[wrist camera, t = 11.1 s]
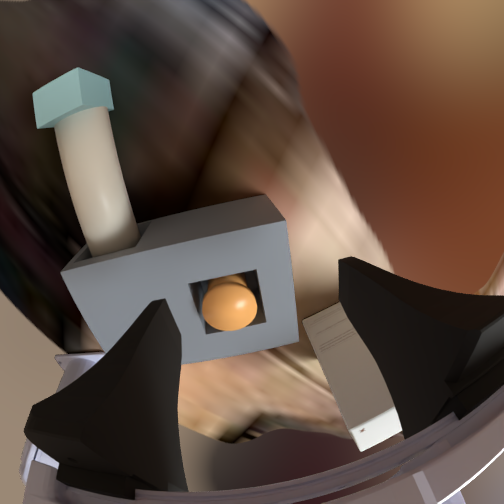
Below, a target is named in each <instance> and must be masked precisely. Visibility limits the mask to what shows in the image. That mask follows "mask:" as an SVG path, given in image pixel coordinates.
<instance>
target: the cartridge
mask: <svg viewBox="0 0 504 504" xmlns="http://www.w3.org/2000/svg"><path fill="white" fill-rule="evenodd" d="M33 102H34V111H35V118H36V125H37V129H39V128H51V127H54V128H55V134H56V139H57V144H58V149H59V153H60V157H61V162H62V166H63V170H64V174H65V177H66V181H67V185H68V188H69V192H70V195H71V198H72V202H73V205H74V208H75V211H76V214H77V217H78V220H79V223H80V226H81V228H82V231H83V234H84V237H85V239H86V242H87V245H88V247H89V250H90V252H91V255H92V257H93V258H94V257H98V256H102V255H105V254H109V253H113V252H117V251H121V250H125V249H129V248H133V247H136V245H137V244H138V242H139V240H140V239H141V236H140V233H139V230H138V226H137V223H136V220H135V217H134V214H133V210H132V207H131V204H130V200H129V197H128V194H127V190H126V186H125V183H124V179H123V175H122V171H121V167H120V164H119V159H118V155H117V151H116V147H115V142H114V138H113V133H112V128H111V123H110V118H109V113H108V112H109V111H111V110H114V107H113V101H112V95H111V89H110V82H109V80H108V79H106V78H103V77H101V76H99V75H96V74H94V73H91V72H89V71H86V70H83V69H81V68H76V69H74V70H72V71H70V72H68V73H66V74H64V75H62V76H60V77H59V78H57V79H55V80H53V81H52V82H50V83H48V84H47V85H45V86H43V87H42V88H40V89H38V90H37V91H35V92H34V93H33Z"/></svg>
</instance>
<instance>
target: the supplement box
mask: <svg viewBox="0 0 504 504" xmlns="http://www.w3.org/2000/svg"><path fill="white" fill-rule="evenodd" d="M302 323H303V326H304V328H305V331H306V333H307V335H308V338H309V340H310V342H311V345H312V347H313V349H314V352H315V354H316V356H317V359H318V361H319V363H320V365H321V368H322V370H323V372H324V375H325V377H326V379H327V382H328V384H329V386H330V389H331V391H332V393H333V396H334V398H335V400H336V403H337V405H338V408H339V410H340V412H341V415H342V417H343V419H344V422H345V424H346V426H347V428H348V430H349V432H350V434H351V436H352V438H353V439H354V441H355V443H356V444H357V446H358V448H359V450H360V451H364V450H366V449H367V448H370V447H372V446H374V445H376V444H378V443H380V442H382V441H383V440H385V439H387V438H389V437H391V436H393V435H395V434H396V433H398V432H400V431H402V427H401V424H400V421H399V417H398V414H397V411H396V409H395V406H394V403H393V400H392V397H391V395H390V393H389V390H388V388H387V385H386V383H385V380H384V378H383V376H382V374H381V372H380V370H379V367H378V365H377V363H376V361H375V360H374V358H373V356H372V354H371V353H370V351H369V350H368V348H367V347H366V345H365V344H364V342H363V341H362V339H361V338H360V336H359V335H358V333H357V331H356V330H355V328H354V327H353V325H352V324H351V322H350V321H349V319H348V318H347V316H346V314H345V312H344V309H343V307H342V305H341V303H340V302H339V303H337V304H335V305H333V306H331V307H329V308H327V309H325V310H323V311H321V312H319V313H317V314H315V315H313V316H311V317H309V318H306V319H304V320H302Z"/></svg>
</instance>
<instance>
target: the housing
mask: <svg viewBox="0 0 504 504" xmlns="http://www.w3.org/2000/svg"><path fill="white" fill-rule="evenodd" d="M137 226H138V230H139V233H140V236H141V239H140V240H139V242H138V244H137V245H136V247H133V248H129V249H125V250H121V251H117V252H113V253H109V254H105V255H102V256H98V257H94V258H93V257H92V255H91V252H90V250H89V247H88V245H87V243H86V244H85V245H84V246H83V248H82V249H81V250H80V251H79V252H78V253H77V254H76V255H75V256H74V257H73V258H72V259H71V261H70V262H69V263H68V264H67V265H66V266H65V267H64V268H63V270H62V271H61V272H60V273H61V275H62V277H63V279H64V281H65V283H66V285H67V287H68V289H69V291H70V293H71V295H72V297H73V299H74V301H75V303H76V305H77V307H78V308H79V310H80V312H81V314H82V316H83V317H84V319H85V321H86V323H87V324H88V326H89V328H90V329H91V331H92V333H93V334H94V336H95V337H96V339H97V341H98V342H99V344H100V345H101V347H102V348H103V350H104V351H105V353H107V352H108V351H109V350H110V349H111V348H112V347H113V346H114V345H115V343H116V342H117V341H118V340H119V339H120V338H121V337H122V336H123V334H124V333H125V332H126V331H127V330H128V329H129V327H130V326H131V325H132V324H133V322H134V321H135V320H136V319H137V318H138V316H139V315H140V314H141V313H142V311H143V310H144V309H145V308H146V307H147V306H148V304H149V303H150V302H151V301H154V300H159V299H164V298H165V299H166V301H167V303H168V306H169V308H170V310H171V313H172V315H173V317H174V320H175V322H176V324H177V326H178V328H179V331H180V333H181V337H182V361H181V364H189V363H195V362H202V361H208V360H214V359H220V358H226V357H231V356H237V355H242V354H247V353H252V352H256V351H261V350H266V349H270V348H275V347H279V346H283V345H287V344H291V343H295V342H299V334H298V323H297V312H296V302H295V292H294V283H293V274H292V265H291V256H290V248H289V240H288V232H287V224H286V220H285V218H284V217H283V216H282V214H281V213H280V212H279V211H278V209H277V208H276V207H275V205H274V204H273V203H272V202H271V200H270V199H269V198H268V197H267V195H260V196H255V197H250V198H245V199H240V200H235V201H231V202H226V203H221V204H217V205H212V206H207V207H203V208H199V209H194V210H190V211H186V212H182V213H177V214H173V215H169V216H165V217H161V218H157V219H153V220H149V221H146V222H142V223H138V224H137ZM241 272H244V273H245V277H246V282H247V287H248V288H249V289H250V290H251V291H252V292H253V294H254V296H255V300H256V304H257V313H256V316H255V318H254V319H253V321H252V322H251V323H250V324H248V325H247V326H245V327H244V328H241V329H239V330H234V331H223V330H219V329H216V328H214V327H212V326H211V325H209V324H208V323H207V322H206V320H205V319H204V317H203V313H202V302H203V298H204V295H205V294H206V292H207V291H208V279H213V278H218V277H222V276H227V275H232V274H237V273H241Z"/></svg>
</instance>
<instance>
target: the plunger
mask: <svg viewBox="0 0 504 504" xmlns="http://www.w3.org/2000/svg"><path fill="white" fill-rule="evenodd" d="M202 313H203V317H204V319H205V320H206V322H207V323H208V324H209V325H211V326H212V327H214V328H216V329H219V330H223V331H234V330H239V329H241V328H244V327H245V326H247V325H248V324H250V323H251V322H252V321H253V319H254V318H255V316H256V313H257V304H256V300H255V296H254V294H253V292H252V291H251V290H250V289H249V288H248V287H247V282H246V277H245V273H244V272H241V273H237V274H232V275H227V276H222V277H218V278H213V279H208V291H207V292H206V294H205V295H204V298H203V302H202Z"/></svg>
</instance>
